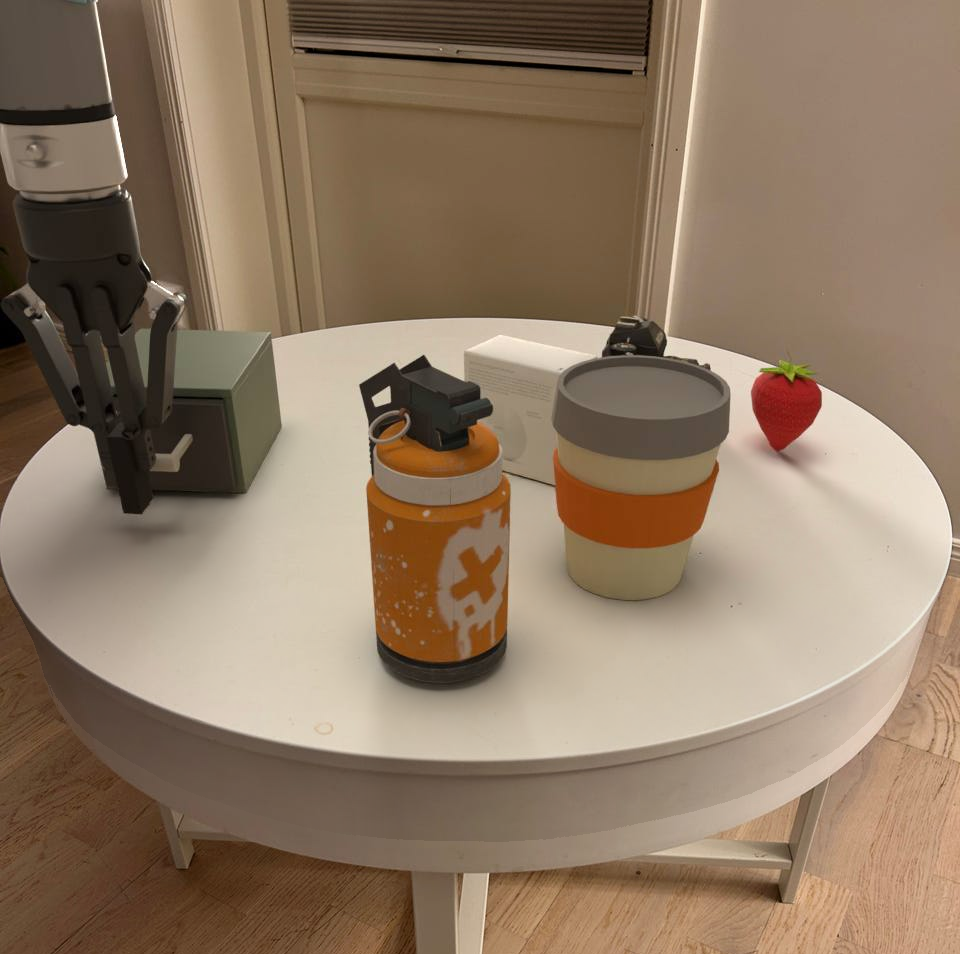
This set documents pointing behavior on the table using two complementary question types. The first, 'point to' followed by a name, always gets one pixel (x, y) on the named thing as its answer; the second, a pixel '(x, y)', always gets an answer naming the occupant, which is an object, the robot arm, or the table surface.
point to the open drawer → (190, 447)
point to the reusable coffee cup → (635, 468)
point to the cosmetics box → (521, 399)
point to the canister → (436, 525)
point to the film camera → (640, 340)
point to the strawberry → (785, 402)
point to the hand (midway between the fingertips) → (138, 505)
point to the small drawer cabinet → (226, 389)
